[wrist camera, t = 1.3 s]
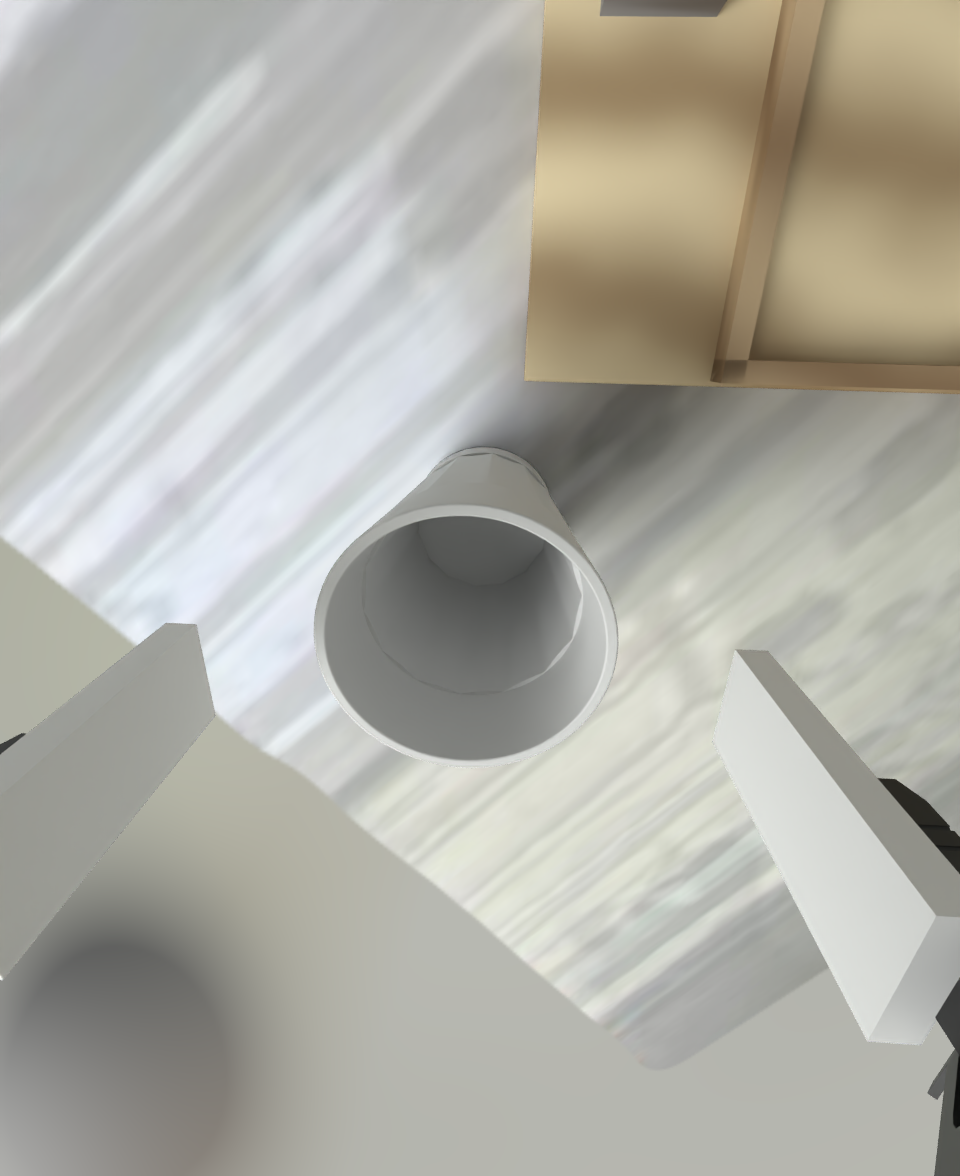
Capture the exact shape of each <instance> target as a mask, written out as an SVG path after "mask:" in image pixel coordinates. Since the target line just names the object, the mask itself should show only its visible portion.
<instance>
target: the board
mask: <svg viewBox="0 0 960 1176" xmlns="http://www.w3.org/2000/svg"><path fill="white" fill-rule="evenodd" d="M524 380H525V381H542V382H576V383H609V384H643V385H676V386H709V387H743V388H776V389H809V390H843V391H876V392H910V393H943V394H960V0H545V7H544V25H543V44H542V62H541V80H540V98H539V116H538V134H537V153H536V171H535V189H534V207H533V225H532V243H531V262H530V280H529V298H528V316H527V334H526V352H525V371H524Z"/></svg>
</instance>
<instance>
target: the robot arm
mask: <svg viewBox="0 0 960 1176" xmlns="http://www.w3.org/2000/svg"><path fill="white" fill-rule="evenodd" d="M215 716H216V715H215V711H214V706H213V701H212V696H211V692H210V687H209V682H208V678H207V673H206V668H205V663H204V659H203V654H202V649H201V644H200V640H199V635H198V630H197V625H196V624H178V623H165V624H164V625H163V626H162V627H160V628H159V629H158V630H156V631H155V632H154V633H153V634H151V635H150V636H149V637H148V638H146V639H145V640H144V641H143V642H141V643H140V644H139V645H138V646H136V647H135V648H134V649H133V650H131V651H130V652H129V653H128V654H126V655H125V656H124V657H123V658H121V659H120V660H119V661H117V662H116V663H115V664H114V665H112V666H111V667H110V668H109V669H107V670H106V671H105V672H104V673H102V674H101V675H100V676H99V677H97V678H96V679H95V680H94V681H92V682H91V683H90V684H89V685H87V686H86V687H85V688H83V689H82V690H81V691H80V692H78V693H77V694H76V695H75V696H73V697H72V698H71V699H70V700H68V701H67V702H66V703H65V704H63V705H62V706H61V707H60V708H58V709H57V710H56V711H55V712H53V713H52V714H51V715H50V716H48V717H47V718H46V719H44V720H43V721H42V722H41V723H39V724H38V725H37V726H36V727H34V728H33V729H32V730H31V731H29V732H28V733H27V734H24V733H23V734H22V733H21V734H20V735H18V736H16V737H14V738H12V739H10V740H8V741H6V742H4V743H2V744H0V980H3V979H4V978H5V977H6V976H7V974H8V973H9V972H10V971H11V969H12V968H13V967H14V966H15V965H16V963H17V962H18V961H19V960H20V958H21V957H22V956H23V955H24V953H25V952H26V951H27V950H28V948H29V947H30V946H31V945H32V943H33V942H34V940H35V939H36V938H37V937H38V936H39V935H40V933H41V932H42V931H43V930H44V928H45V927H46V926H47V925H48V923H49V922H50V921H51V920H52V918H53V917H54V916H55V915H56V914H57V912H58V911H59V910H60V909H61V907H62V906H63V905H64V904H65V902H66V901H67V900H68V899H69V897H70V896H71V895H72V894H73V892H74V891H75V890H76V889H77V887H78V886H79V885H80V884H81V882H82V881H83V880H84V879H85V877H86V876H87V875H88V874H89V872H90V871H91V870H92V869H93V867H94V866H95V865H96V864H97V863H98V861H99V860H100V859H101V858H102V856H103V855H104V854H105V853H106V851H107V850H108V849H109V848H110V846H111V845H112V844H113V843H114V841H115V840H116V839H117V838H118V836H119V835H120V834H121V833H122V831H123V830H124V829H125V828H126V826H127V825H128V824H129V823H130V821H131V820H132V819H133V818H134V816H135V815H136V814H137V812H138V811H139V810H140V809H141V808H142V807H143V805H144V804H145V803H146V802H147V800H148V799H149V798H150V797H151V795H152V794H153V793H154V792H155V790H156V789H157V788H158V787H159V785H160V784H161V783H162V782H163V780H164V779H165V778H166V777H167V775H168V774H169V773H170V772H171V770H172V769H173V768H174V767H175V765H176V764H177V763H178V762H179V760H180V759H181V758H182V757H183V756H184V754H185V753H186V752H187V751H188V749H189V748H190V747H191V746H192V744H193V743H194V742H195V741H196V739H197V738H198V737H199V736H200V734H201V733H202V732H203V730H204V729H205V728H206V727H207V726H208V724H209V723H210V722H211V721H212V719H213V718H214V717H215ZM712 742H713V744H714V746H715V748H716V750H717V752H718V754H719V756H720V758H721V760H722V762H723V764H724V766H725V767H726V769H727V771H728V773H729V775H730V777H731V779H732V781H733V783H734V785H735V787H736V789H737V791H738V793H739V794H740V796H741V798H742V800H743V802H744V804H745V806H746V808H747V810H748V812H749V814H750V816H751V818H752V820H753V821H754V823H755V825H756V827H757V829H758V831H759V833H760V835H761V837H762V839H763V841H764V843H765V845H766V847H767V849H768V850H769V852H770V854H771V856H772V858H773V860H774V862H775V864H776V866H777V868H778V870H779V872H780V874H781V876H782V877H783V879H784V881H785V883H786V885H787V887H788V889H789V891H790V893H791V895H792V897H793V899H794V901H795V903H796V904H797V906H798V908H799V910H800V912H801V914H802V916H803V918H804V920H805V922H806V924H807V926H808V928H809V930H810V931H811V933H812V935H813V937H814V939H815V941H816V943H817V945H818V947H819V949H820V951H821V953H822V955H823V957H824V958H825V960H826V962H827V964H828V966H829V968H830V970H831V972H832V974H833V976H834V978H835V980H836V982H837V983H838V985H839V987H840V989H841V991H842V993H843V995H844V997H845V999H846V1001H847V1003H848V1005H849V1007H850V1009H851V1011H852V1013H853V1014H854V1016H855V1018H856V1020H857V1022H858V1024H859V1026H860V1028H861V1030H862V1032H863V1034H864V1036H865V1038H866V1039H867V1041H868V1042H882V1043H897V1044H911V1045H922V1043H923V1041H924V1040H925V1038H926V1036H927V1035H928V1033H929V1032H930V1030H931V1028H932V1027H933V1025H934V1024H935V1022H936V1020H937V1021H938V1023H939V1024H940V1026H941V1027H942V1029H943V1030H944V1032H945V1033H946V1035H947V1037H948V1038H949V1040H950V1042H951V1043H952V1045H953V1046H954V1048H955V1050H954V1051H953V1053H952V1054H951V1056H950V1057H949V1059H948V1060H947V1062H946V1063H945V1065H944V1066H943V1068H942V1069H941V1071H940V1072H939V1074H938V1075H937V1077H936V1078H935V1080H934V1081H933V1083H932V1085H931V1087H930V1089H929V1091H928V1094H929V1095H931V1096H932V1097H934V1098H935V1099H938V1098H939V1096H940V1095H941V1093H942V1092H943V1090H944V1095H943V1104H942V1112H941V1113H942V1114H941V1121H940V1130H939V1139H938V1148H937V1156H936V1166H935V1175H934V1176H960V837H959V836H958V835H957V833H956V832H955V831H951V830H950V828H949V827H950V826H949V825H948V824H947V823H946V822H945V821H944V819H943V818H942V817H941V816H940V815H939V814H938V813H937V812H936V811H935V810H934V809H933V808H932V806H931V805H930V804H929V803H928V802H927V801H926V800H924V799H923V798H921V797H920V796H919V795H917V794H916V793H914V792H913V791H911V790H910V789H909V788H907V787H906V786H904V785H903V784H902V783H900V782H899V781H897V780H896V779H882V778H877V777H876V776H875V775H874V774H873V773H872V772H871V770H870V769H869V768H868V767H867V766H866V765H865V763H864V762H863V761H862V760H861V759H860V758H859V756H858V755H857V754H856V753H855V752H854V751H853V749H852V748H851V747H850V746H849V745H848V744H847V742H846V741H845V740H844V739H843V738H842V737H841V735H840V734H839V733H838V732H837V731H836V730H835V728H834V727H833V726H832V725H831V724H830V723H829V722H828V720H827V719H826V718H825V717H824V716H823V715H822V713H821V712H820V711H819V710H818V709H817V708H816V706H815V705H814V704H813V703H812V702H811V701H810V699H809V698H808V697H807V696H806V695H805V694H804V692H803V691H802V690H801V689H800V688H799V687H798V685H797V684H796V683H795V682H794V681H793V680H792V678H791V677H790V676H789V675H788V674H787V673H786V672H785V670H784V669H783V668H782V667H781V666H780V665H779V663H778V662H777V661H776V660H775V659H774V658H773V656H772V655H771V654H770V653H769V652H768V651H757V650H735V652H734V657H733V661H732V665H731V669H730V673H729V677H728V681H727V685H726V689H725V693H724V697H723V701H722V705H721V709H720V713H719V717H718V721H717V725H716V729H715V733H714V737H713V741H712Z"/></svg>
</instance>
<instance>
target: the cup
mask: <svg viewBox="0 0 960 1176" xmlns="http://www.w3.org/2000/svg"><path fill="white" fill-rule="evenodd" d="M314 643H315V650H316V655H317V659H318V663H319V666H320V669H321V672H322V674H323V677H324V679H325V681H326V683H327V685H328V687H329V689H330V691H331V693H332V694H333V696H334V697H335V699H336V700H337V702H338V703H339V704H340V706H341V707H342V708H343V710H344V711H345V712H346V713H347V714H348V715H349V716H350V717H351V718H352V719H353V721H354V722H356V723H357V724H358V725H359V726H360V727H361V728H362V729H363V730H365V731H366V732H367V733H368V734H370V735H371V736H372V737H374V738H375V739H377V740H378V741H380V742H382V743H383V744H385V745H387V746H388V747H390V748H392V749H394V750H396V751H398V752H401V753H403V754H405V755H408V756H410V757H413V758H416V759H419V760H422V761H426V762H429V763H434V764H438V765H444V766H451V767H462V768H482V767H493V766H500V765H506V764H510V763H515V762H518V761H522V760H525V759H528V758H531V757H533V756H536V755H538V754H540V753H542V752H544V751H547V750H549V749H550V748H552V747H554V746H556V745H557V744H559V743H560V742H562V741H563V740H565V739H566V738H568V737H569V736H570V735H571V734H573V733H574V732H575V731H576V730H577V729H578V728H580V727H581V726H582V725H583V724H584V723H585V722H586V720H587V719H588V718H589V717H590V716H591V715H592V713H593V712H594V711H595V709H596V708H597V707H598V705H599V704H600V702H601V700H602V699H603V697H604V695H605V693H606V691H607V689H608V687H609V685H610V682H611V679H612V676H613V673H614V670H615V666H616V661H617V654H618V627H617V620H616V615H615V611H614V607H613V604H612V601H611V598H610V596H609V593H608V591H607V589H606V587H605V585H604V583H603V581H602V579H601V578H600V576H599V574H598V573H597V571H596V570H595V568H594V567H593V565H592V564H591V562H590V561H589V559H588V557H587V556H586V554H585V553H584V551H583V550H582V548H581V547H580V545H579V544H578V542H577V541H576V539H575V537H574V536H573V534H572V532H571V531H570V529H569V527H568V526H567V524H566V522H565V520H564V519H563V517H562V515H561V514H560V512H559V510H558V509H557V507H556V505H555V504H554V502H553V500H552V499H551V497H550V494H549V491H548V489H547V487H546V485H545V483H544V481H543V479H542V478H541V476H540V475H539V474H538V472H537V471H536V470H535V469H534V468H533V467H532V466H531V465H530V464H529V463H528V462H526V461H525V460H524V459H522V458H520V457H519V456H517V455H515V454H513V453H511V452H508V451H505V450H502V449H498V448H491V447H476V448H470V449H465V450H462V451H459V452H457V453H454V454H452V455H450V456H449V457H447V458H445V459H444V460H443V461H441V462H440V463H439V464H438V465H437V466H436V467H435V468H434V469H433V470H432V471H431V472H430V473H429V475H428V476H427V478H426V479H425V480H423V481H422V482H421V483H420V484H419V485H418V486H417V487H416V488H415V489H414V490H413V491H411V492H410V493H409V494H408V495H407V496H406V497H405V498H404V499H403V500H402V501H401V502H399V503H398V504H397V505H396V506H395V507H394V508H393V509H392V510H391V511H389V512H388V513H387V514H386V515H385V516H384V517H382V518H381V519H380V520H379V521H378V522H376V523H375V524H374V525H373V526H372V527H370V528H369V529H368V530H367V531H366V532H364V533H363V534H362V535H361V536H360V537H359V538H357V539H356V540H355V541H354V542H353V543H352V544H351V545H350V546H349V547H348V548H347V549H346V550H345V551H344V552H343V553H342V555H341V556H340V557H339V558H338V560H337V561H336V562H335V564H334V565H333V567H332V568H331V570H330V572H329V574H328V575H327V577H326V579H325V581H324V584H323V586H322V589H321V591H320V594H319V597H318V601H317V605H316V610H315V617H314Z"/></svg>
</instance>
